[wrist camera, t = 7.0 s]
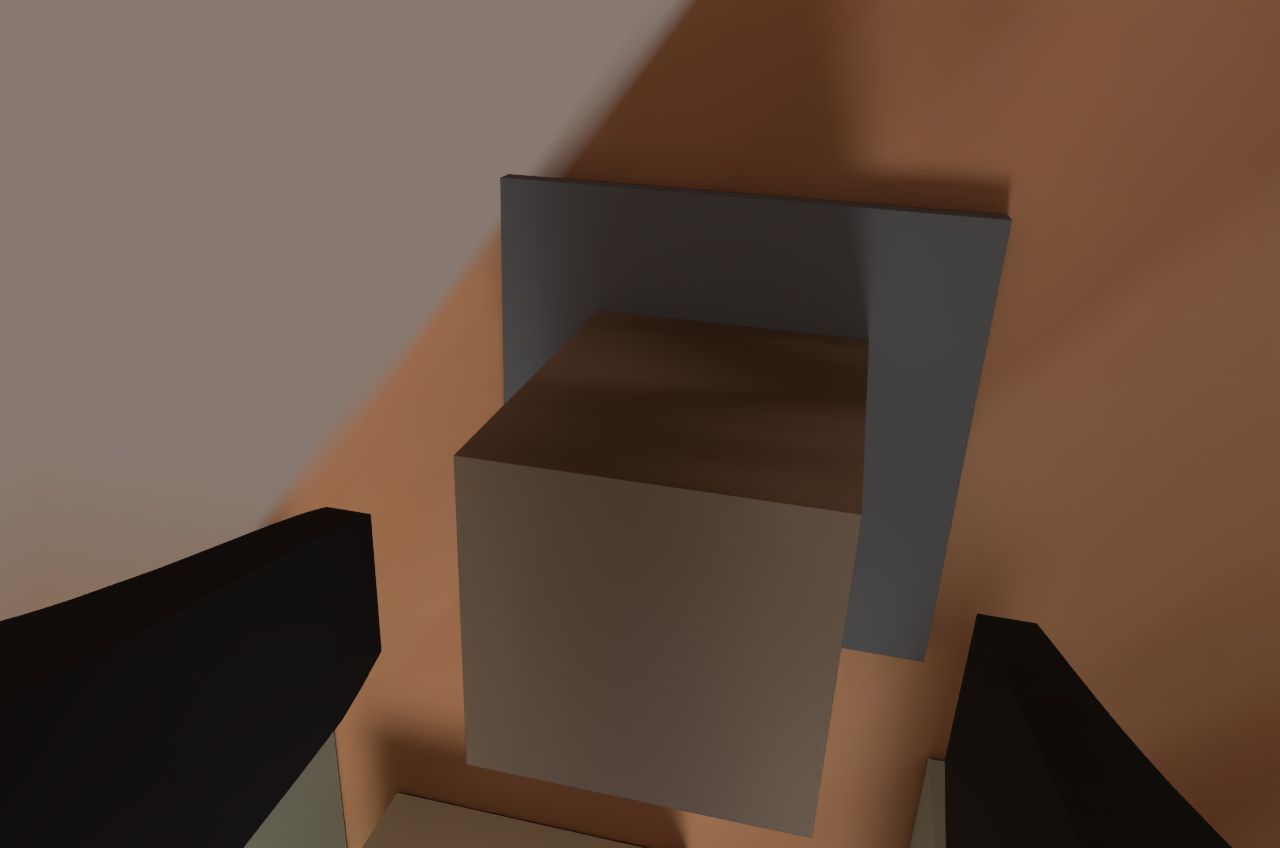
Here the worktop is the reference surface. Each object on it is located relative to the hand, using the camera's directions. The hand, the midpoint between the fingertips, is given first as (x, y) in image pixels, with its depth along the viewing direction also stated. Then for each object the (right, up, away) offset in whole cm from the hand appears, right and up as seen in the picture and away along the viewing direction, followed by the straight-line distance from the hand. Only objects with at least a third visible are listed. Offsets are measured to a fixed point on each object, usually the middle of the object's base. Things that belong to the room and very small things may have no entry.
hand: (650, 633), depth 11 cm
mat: (+1, +3, +6) cm, 6 cm away
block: (+1, +2, +5) cm, 6 cm away
